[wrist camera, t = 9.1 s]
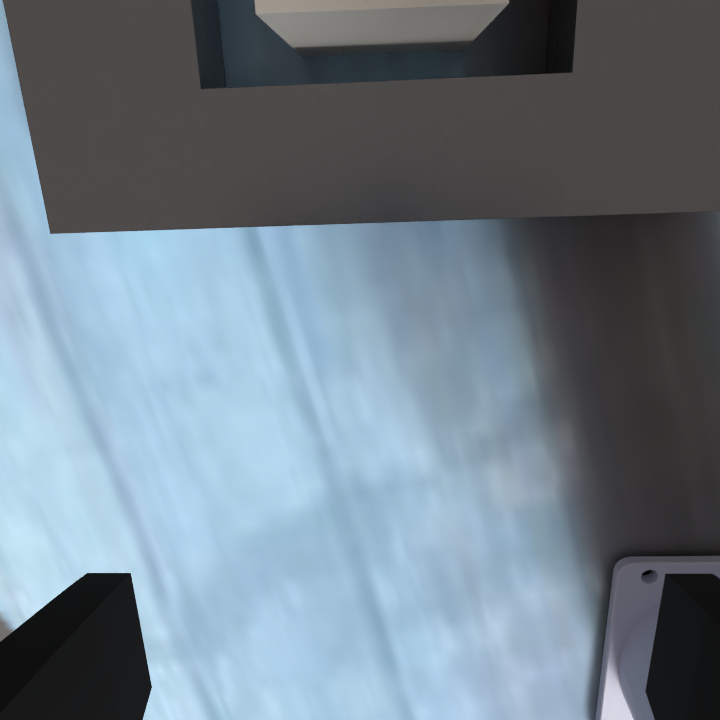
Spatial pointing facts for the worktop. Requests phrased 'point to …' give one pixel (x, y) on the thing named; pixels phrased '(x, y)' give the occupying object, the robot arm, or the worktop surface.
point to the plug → (377, 24)
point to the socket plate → (364, 124)
